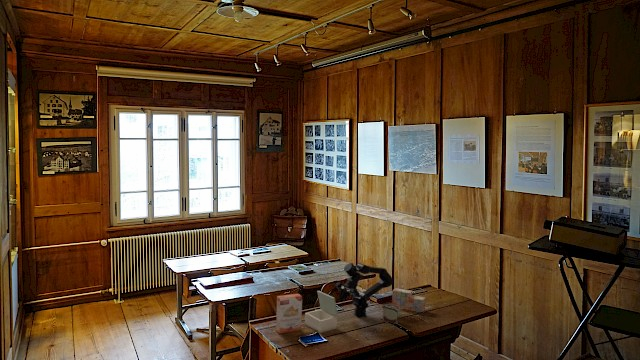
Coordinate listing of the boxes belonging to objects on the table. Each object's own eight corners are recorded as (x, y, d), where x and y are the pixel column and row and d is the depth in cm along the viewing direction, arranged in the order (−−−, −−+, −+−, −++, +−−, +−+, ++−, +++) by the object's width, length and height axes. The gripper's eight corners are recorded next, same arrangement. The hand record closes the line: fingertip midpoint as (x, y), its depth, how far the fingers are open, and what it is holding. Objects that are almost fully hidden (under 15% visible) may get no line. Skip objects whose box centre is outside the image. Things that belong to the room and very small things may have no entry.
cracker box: (279, 334, 262) (280, 298, 261) (275, 330, 268) (276, 295, 266) (301, 330, 268) (302, 295, 267) (297, 327, 274) (298, 292, 273)
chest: (320, 320, 286) (320, 309, 285) (336, 328, 273) (336, 317, 272) (304, 324, 279) (305, 312, 278) (320, 332, 266) (320, 321, 265)
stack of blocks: (425, 311, 306) (425, 293, 305) (422, 313, 301) (422, 295, 300) (395, 305, 317) (395, 287, 316) (391, 307, 312) (392, 289, 311)
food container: (403, 323, 283) (404, 307, 283) (398, 325, 279) (398, 309, 278) (387, 317, 292) (387, 302, 291) (381, 320, 287) (381, 304, 287)
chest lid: (320, 309, 285) (322, 308, 286) (337, 317, 272) (338, 316, 273) (317, 291, 283) (318, 290, 283) (333, 298, 269) (334, 297, 270)
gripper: (369, 291, 285) (355, 312, 279) (350, 284, 300) (337, 303, 294) (360, 281, 280) (346, 302, 274) (341, 274, 295) (327, 293, 289)
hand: (339, 300), depth 283 cm, fingers closed
